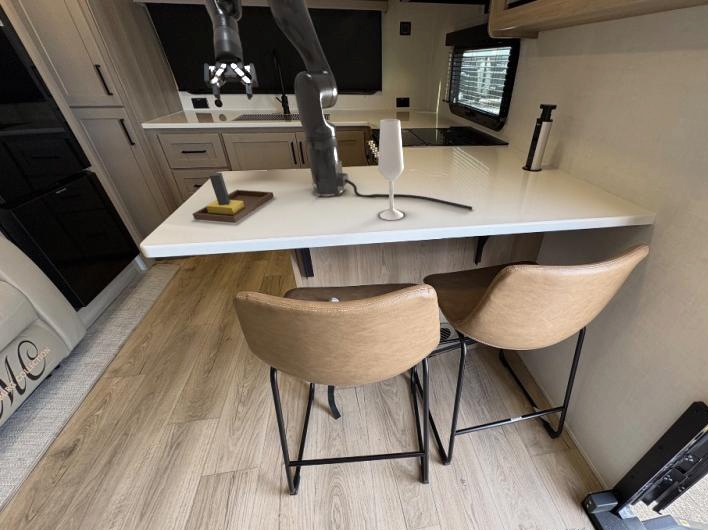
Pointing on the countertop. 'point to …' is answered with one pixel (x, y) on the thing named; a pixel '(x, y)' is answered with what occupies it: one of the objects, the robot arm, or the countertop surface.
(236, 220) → the tray
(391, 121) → the champagne flute
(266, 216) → the countertop surface
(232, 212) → the grey post with base
